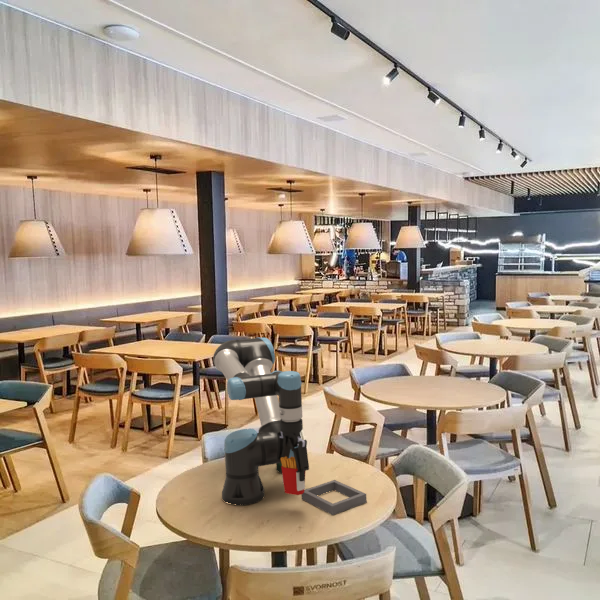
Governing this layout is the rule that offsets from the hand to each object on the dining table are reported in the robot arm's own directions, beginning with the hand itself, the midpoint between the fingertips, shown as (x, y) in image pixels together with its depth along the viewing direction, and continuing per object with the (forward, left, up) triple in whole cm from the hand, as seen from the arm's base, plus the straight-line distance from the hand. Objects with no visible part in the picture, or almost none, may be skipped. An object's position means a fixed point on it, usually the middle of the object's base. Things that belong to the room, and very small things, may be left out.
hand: (293, 485), depth 193 cm
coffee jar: (-33, +20, -9) cm, 39 cm away
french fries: (0, 0, -2) cm, 2 cm away
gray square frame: (+2, +15, -9) cm, 17 cm away
